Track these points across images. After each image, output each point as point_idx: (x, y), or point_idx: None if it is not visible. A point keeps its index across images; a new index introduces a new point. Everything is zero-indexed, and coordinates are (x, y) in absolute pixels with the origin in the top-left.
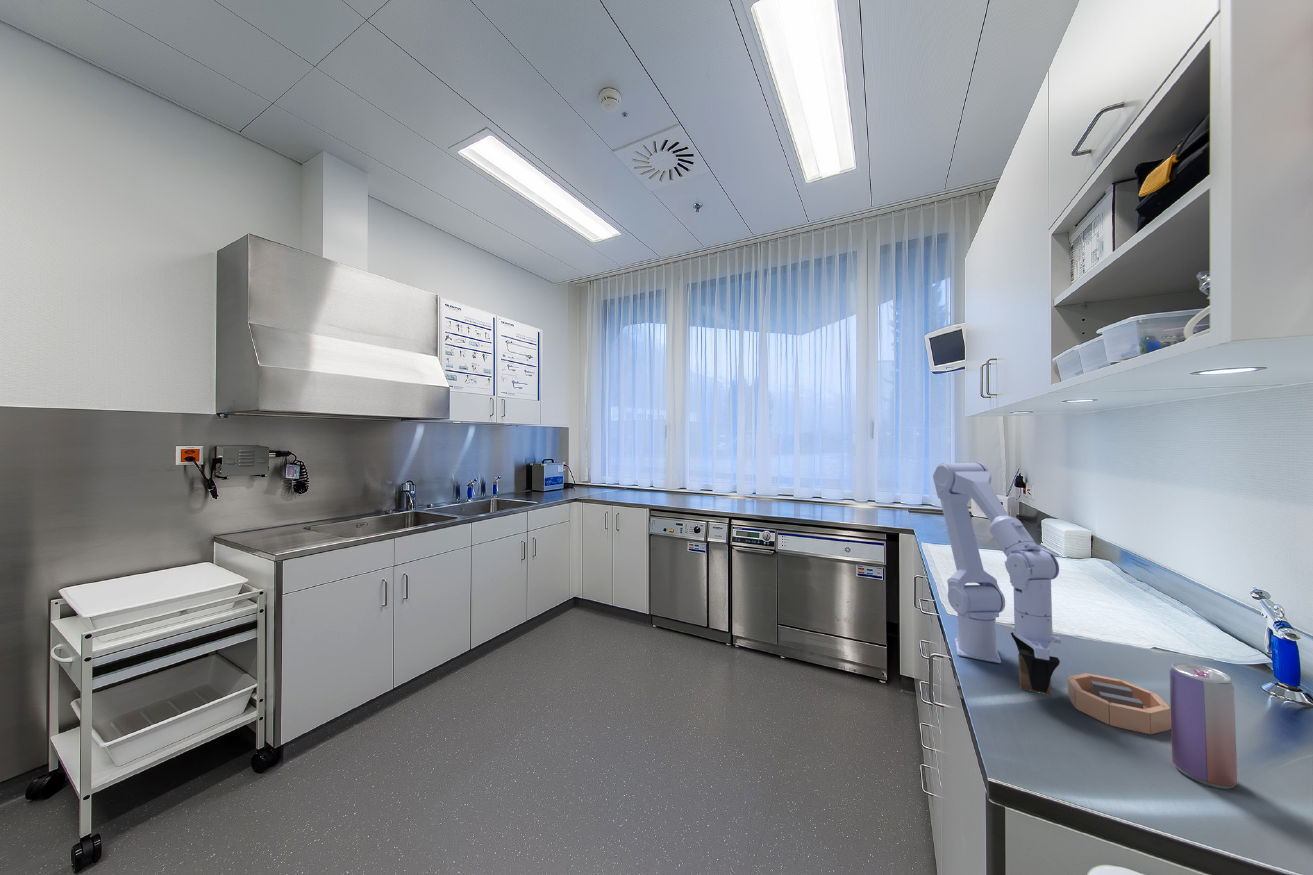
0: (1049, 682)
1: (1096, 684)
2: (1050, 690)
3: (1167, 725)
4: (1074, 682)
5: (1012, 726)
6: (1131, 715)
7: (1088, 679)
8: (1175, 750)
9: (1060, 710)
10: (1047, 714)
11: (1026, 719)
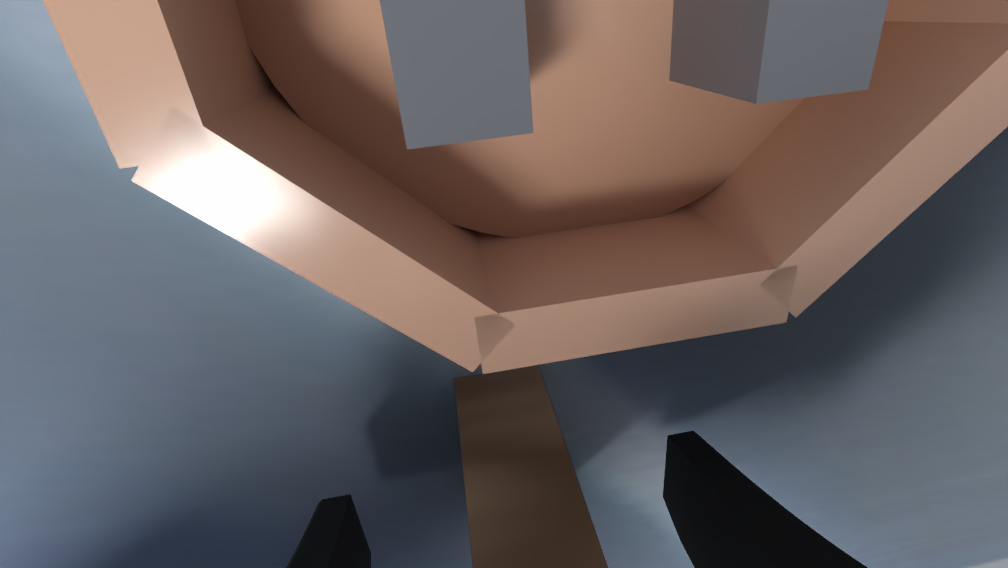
0: (763, 491)
1: (522, 93)
2: (546, 390)
3: None
4: (606, 319)
5: (1003, 480)
6: None
7: (271, 148)
8: None
9: None
10: (841, 376)
11: (926, 446)
